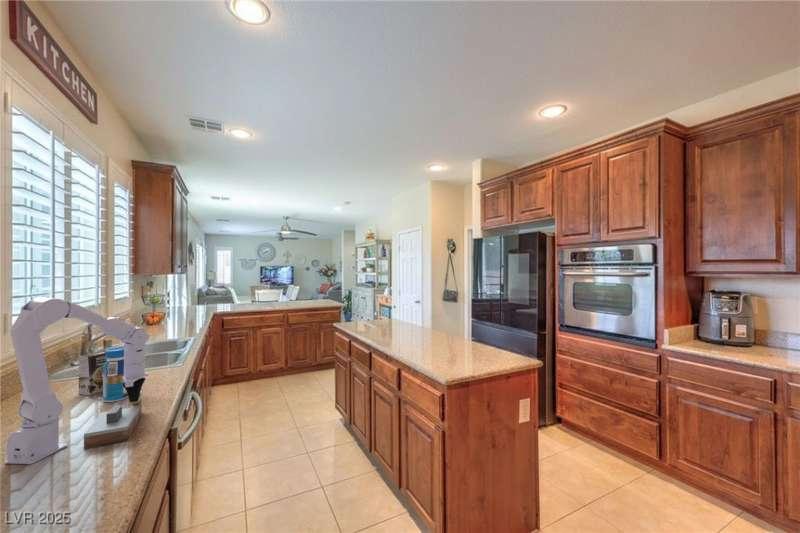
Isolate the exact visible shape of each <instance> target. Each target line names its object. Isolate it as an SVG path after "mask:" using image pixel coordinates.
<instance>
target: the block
mask: <svg viewBox="0 0 800 533" xmlns="http://www.w3.org/2000/svg"><path fill="white" fill-rule="evenodd" d="M142 399H143V390H141V392H140V396H139V400H138V401H136V402H131V405H132V404H138V403H139V402H140V400H142Z"/></svg>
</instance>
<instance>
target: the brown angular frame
mask: <svg viewBox="0 0 800 533" xmlns="http://www.w3.org/2000/svg"><path fill="white" fill-rule="evenodd" d="M142 403H143V400H142V399H141V400H140V402H139V403H138V404H132V403H131V405H130V407H129V408H134V407H140V410H139V412H138V413H137V415H136V417H135V418H134V420H133V422H132V423H131V425H130V426H129V428H128V430H123V431H117V432H111V433H106V434H100V435H95V436H89V437H84V436H83V450H87V449H92V448H98V447H99V448H100V447H104V446H109V445H114V444H118V443H125V442H128V441H129V439H130V437H131V435H132V434H133V433H134V431H135V429H136V428H137V425H138V424H139V422H140V421H141V415H142V412H143V411H142V410H143V409H142V408H143V404H142Z"/></svg>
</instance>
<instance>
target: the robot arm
mask: <svg viewBox="0 0 800 533" xmlns="http://www.w3.org/2000/svg"><path fill="white" fill-rule="evenodd" d="M19 312H20V313H19V315H18V317H17V318H16V320H15V321H14V323H13V325H12V327H11V329H10V336H11V339H12V340H11V341H12V345H13V350H14V355H15V359H16V364H17V368H18V372H19V374H18V375H19V377H20V383H21V387H22V391H23V392H22V394H21V395H20V404H19V406H18V415H19V416H20V417H21V418H23V420H22V422H21V426H20V427H19V429H17V430H16V431H14V432H12V433H11V434H10V435H9V436H8V438H7V442H6V443H7V449H6V450H7V451H6V452H7V454H6V455H7V457H6V460H5V461H4V463H5V464H20V465H32V464H34V463H36V462H38V461H40V460H42V459H44V458H46V457H48V456H50V455H53V454H54V453H56V452H58V451H60V450H62V449H64V448H66V447H68V445H69V444H68V443H60V442H59V441H60V416H61V415H62V414H63V410H64V405H63V403H62V402H61V401H59V400H58V398H57V395H56V392H55V391H54V390H53V389H52V387H51V383H50V378H49V374H48V367H47V364H46V359H45V354H44V350H43V344H42V338H41V335H40V334H41V333H42V332H43V331H44V330H45V329H47V327H49V326H50V325H52V324H55V323H56V322H58V321H60V320H62V319H63V318H66V319H72V318H73V319H76V320H79V321H82V322H85V323H87V324H90V325H93V326H95V327H98V329H99V331H100V333H101V334H104V335H106V336H109V337H112V338H114V339H116V340H118V341H121V342H122V343H123V347H124V376H123V379H124V381H125V382H124V383H123V387H124V388H125V389H126V391H127V393H128V397H127V398H128V400H129V403H132V402H136V401H138V400H139V396H140V392H141V391H142V387H143V386H144V383H145V381H146V377H148V376H149V375H150V372H146V369H145V368H146V343H147V342H148V340H149V338H150V334H149V333H148V332H147V330H146V329H144V328H143V327H142V328H141V327H137V326H136V324H135V323H129V322H126V321H124V319H123V318H122V317H119V316H116V317H115V316H111V317H105V316H103V315H100V314H99V313H97V312H94V311H92V310H90V309H88V308H86V307H84V306H81V304H80V305H79V304H77V303H74V302H71V301H66V300H65V299H62V298H58V297H57V298H56V297H55V298H53V297H52V298H50V297H44V296H40V297H39V296H37V297H35V298H32V299H31V300H29V301H27V302H26V303H25V304H24V305H23V306H21V307H20V311H19Z"/></svg>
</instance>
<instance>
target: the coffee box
mask: <svg viewBox="0 0 800 533" xmlns="http://www.w3.org/2000/svg"><path fill="white" fill-rule="evenodd" d="M105 352H106V350H101V351H96V352H91V353H86V354H81V355H78V392H77V393H78V395H81V394H82V396H93V395H95V394H99V393H101V392H102V393H103V376H102V375H103V372H104V369H103V366H104V364H105V362H106V361H107V360H108V359H106V357H105Z"/></svg>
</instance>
